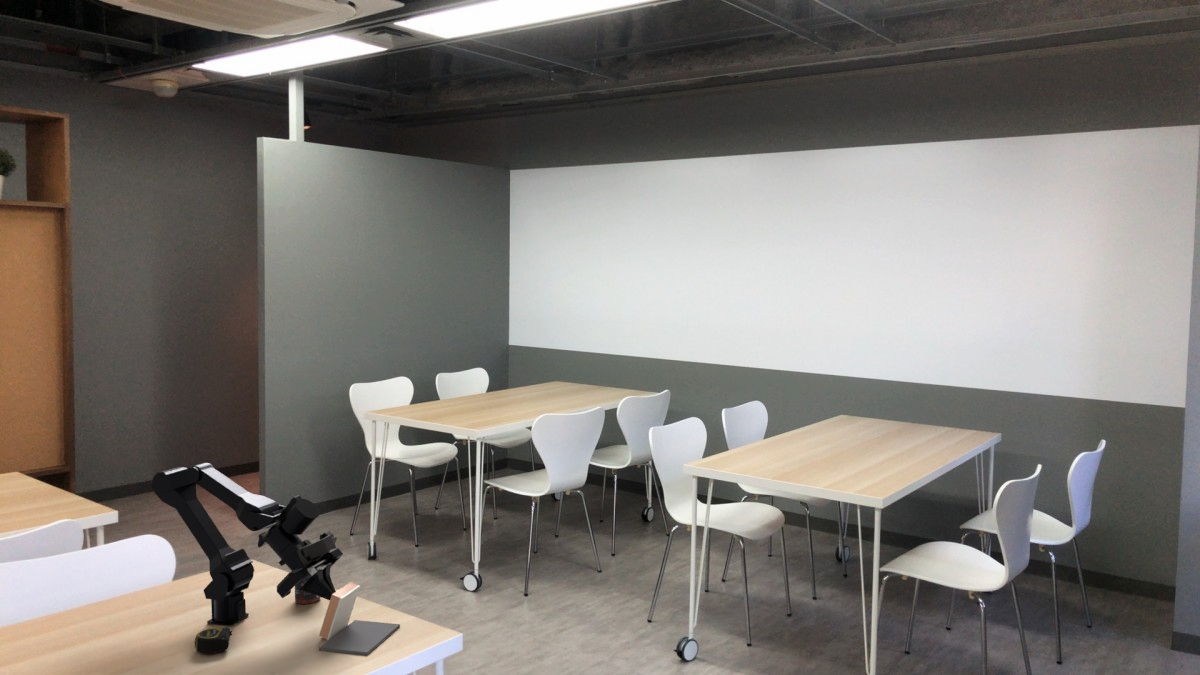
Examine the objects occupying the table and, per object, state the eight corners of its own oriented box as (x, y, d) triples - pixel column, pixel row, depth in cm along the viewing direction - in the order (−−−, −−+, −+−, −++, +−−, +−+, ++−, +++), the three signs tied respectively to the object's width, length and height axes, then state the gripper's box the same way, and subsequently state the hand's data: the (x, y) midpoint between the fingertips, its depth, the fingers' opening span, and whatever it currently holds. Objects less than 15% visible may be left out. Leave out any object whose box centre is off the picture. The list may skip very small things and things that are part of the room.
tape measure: (228, 654, 176) (228, 637, 175) (192, 659, 174) (192, 641, 173) (232, 641, 182) (232, 624, 182) (197, 645, 180) (197, 628, 180)
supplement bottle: (326, 599, 206) (325, 553, 206) (304, 606, 202) (303, 560, 201) (310, 594, 210) (310, 549, 209) (289, 601, 205) (288, 555, 204)
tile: (318, 635, 183) (332, 594, 182) (338, 621, 191) (350, 581, 189) (328, 640, 182) (341, 598, 181) (347, 625, 190) (360, 585, 189)
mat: (319, 650, 177) (319, 647, 177) (355, 622, 192) (355, 620, 192) (367, 655, 175) (367, 652, 175) (399, 626, 190) (399, 624, 190)
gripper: (287, 535, 177) (336, 591, 175) (334, 512, 195) (379, 562, 193) (255, 570, 179) (303, 625, 177) (304, 544, 197) (349, 594, 196)
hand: (336, 600), depth 186 cm, fingers closed
